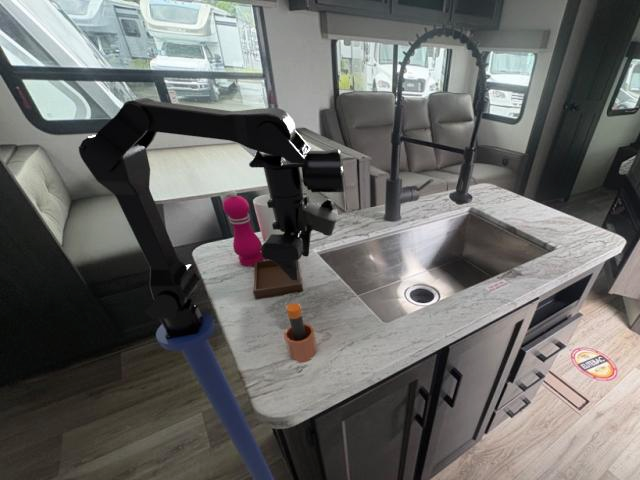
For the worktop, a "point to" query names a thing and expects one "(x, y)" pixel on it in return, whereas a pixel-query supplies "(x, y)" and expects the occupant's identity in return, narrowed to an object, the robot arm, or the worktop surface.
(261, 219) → the cup
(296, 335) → the marker
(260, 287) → the tray
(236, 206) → the pepper mill
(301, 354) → the pen cup
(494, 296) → the worktop surface
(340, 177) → the robot arm
